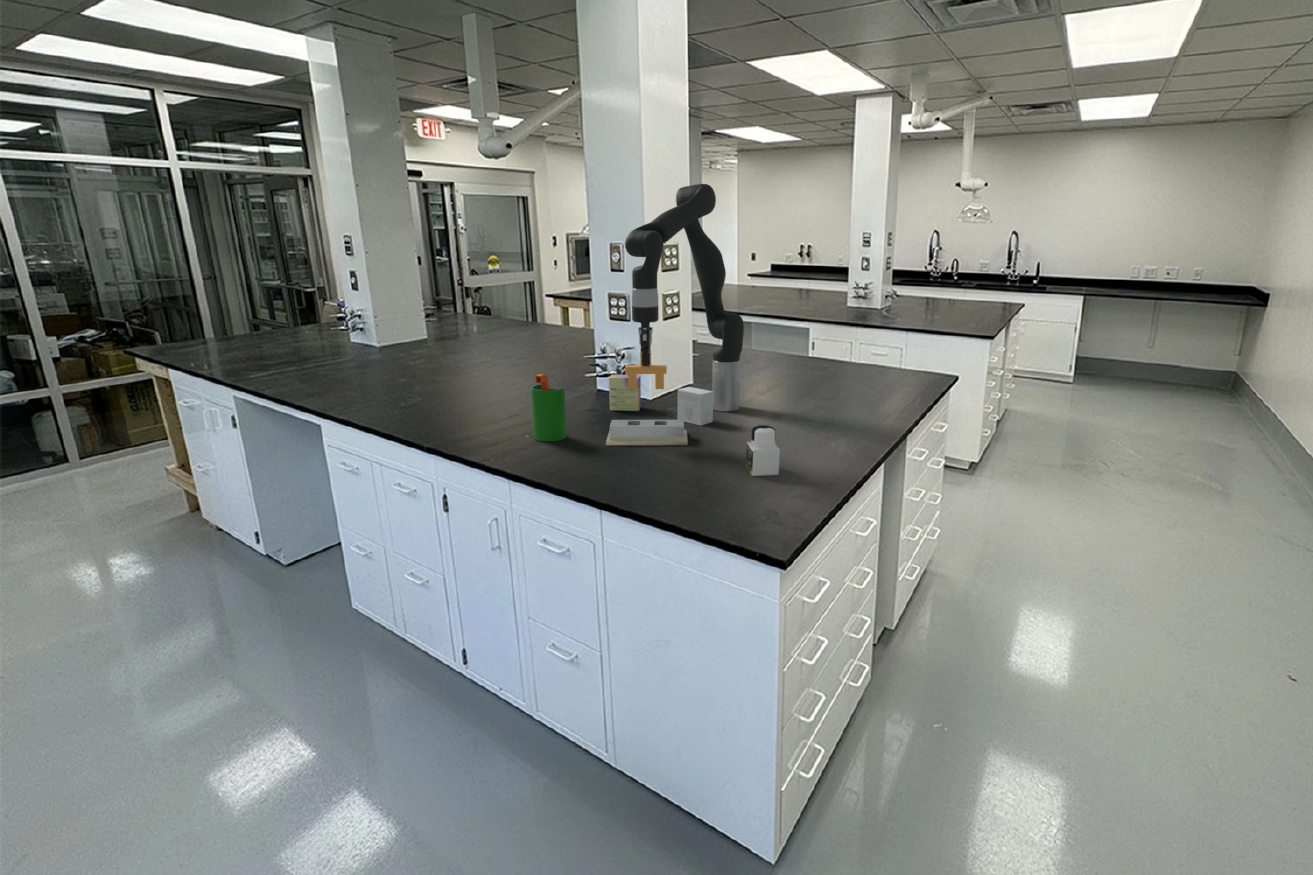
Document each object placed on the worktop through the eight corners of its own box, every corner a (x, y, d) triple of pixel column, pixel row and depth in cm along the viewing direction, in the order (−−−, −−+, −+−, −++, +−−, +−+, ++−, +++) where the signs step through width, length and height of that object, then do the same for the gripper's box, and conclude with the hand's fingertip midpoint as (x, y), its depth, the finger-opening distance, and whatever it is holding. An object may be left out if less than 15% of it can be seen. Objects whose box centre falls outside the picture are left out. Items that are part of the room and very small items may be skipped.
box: (641, 407, 232) (640, 374, 228) (639, 411, 226) (638, 378, 223) (612, 406, 233) (611, 374, 229) (609, 410, 227) (608, 377, 224)
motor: (571, 434, 202) (567, 371, 196) (557, 443, 194) (554, 377, 188) (542, 431, 205) (537, 369, 199) (527, 440, 197) (522, 375, 191)
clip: (666, 386, 193) (666, 349, 190) (666, 389, 191) (666, 351, 187) (626, 386, 194) (625, 350, 190) (625, 389, 191) (624, 351, 188)
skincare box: (713, 421, 214) (714, 390, 210) (701, 426, 209) (701, 394, 206) (689, 416, 220) (689, 385, 217) (676, 420, 216) (676, 389, 213)
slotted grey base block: (686, 432, 202) (686, 417, 201) (687, 445, 191) (687, 428, 189) (609, 433, 203) (609, 417, 202) (605, 445, 192) (605, 429, 190)
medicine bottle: (745, 466, 174) (747, 423, 170) (771, 465, 174) (773, 422, 171) (751, 476, 167) (753, 431, 163) (778, 475, 167) (781, 430, 164)
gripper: (657, 307, 178) (658, 369, 183) (658, 301, 191) (659, 360, 197) (630, 307, 178) (631, 369, 184) (633, 301, 191) (634, 360, 197)
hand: (646, 364), depth 190 cm, fingers closed on clip, 2 cm apart
